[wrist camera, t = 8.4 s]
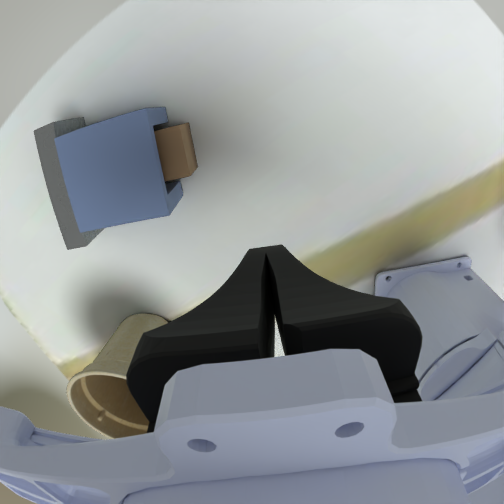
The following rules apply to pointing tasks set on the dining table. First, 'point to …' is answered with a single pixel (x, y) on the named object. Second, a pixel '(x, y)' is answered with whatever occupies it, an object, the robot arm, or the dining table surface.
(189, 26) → the dining table surface
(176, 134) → the walnut peg
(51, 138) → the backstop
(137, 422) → the flower pot
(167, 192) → the socket block
